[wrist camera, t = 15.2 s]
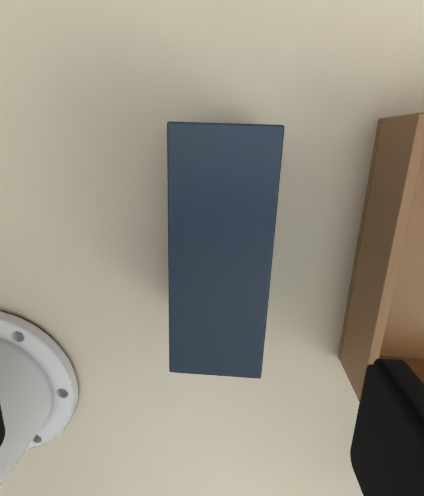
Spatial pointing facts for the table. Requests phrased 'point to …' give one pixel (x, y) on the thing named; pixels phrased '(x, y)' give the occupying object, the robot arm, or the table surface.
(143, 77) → the table surface
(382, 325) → the storage box
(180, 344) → the plastic case
